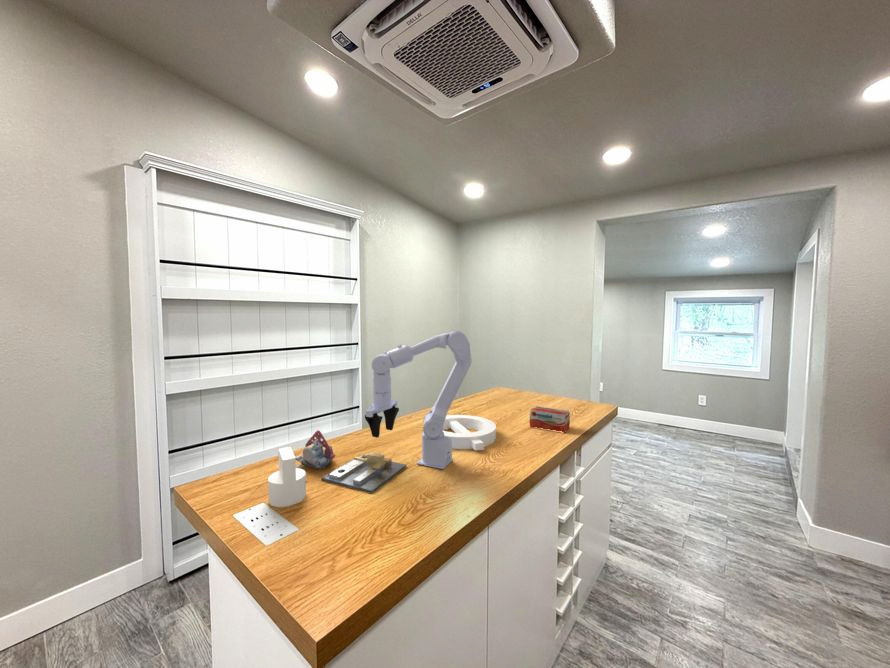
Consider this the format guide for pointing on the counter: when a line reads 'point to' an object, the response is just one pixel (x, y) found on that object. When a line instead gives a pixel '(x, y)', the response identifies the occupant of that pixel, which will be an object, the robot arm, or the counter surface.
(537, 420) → the medicine box
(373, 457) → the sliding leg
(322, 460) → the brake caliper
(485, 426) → the white circle with bar
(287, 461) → the base with upright slab
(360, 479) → the grey mechanism base plate
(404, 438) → the counter surface
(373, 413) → the robot arm
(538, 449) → the counter surface
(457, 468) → the counter surface
